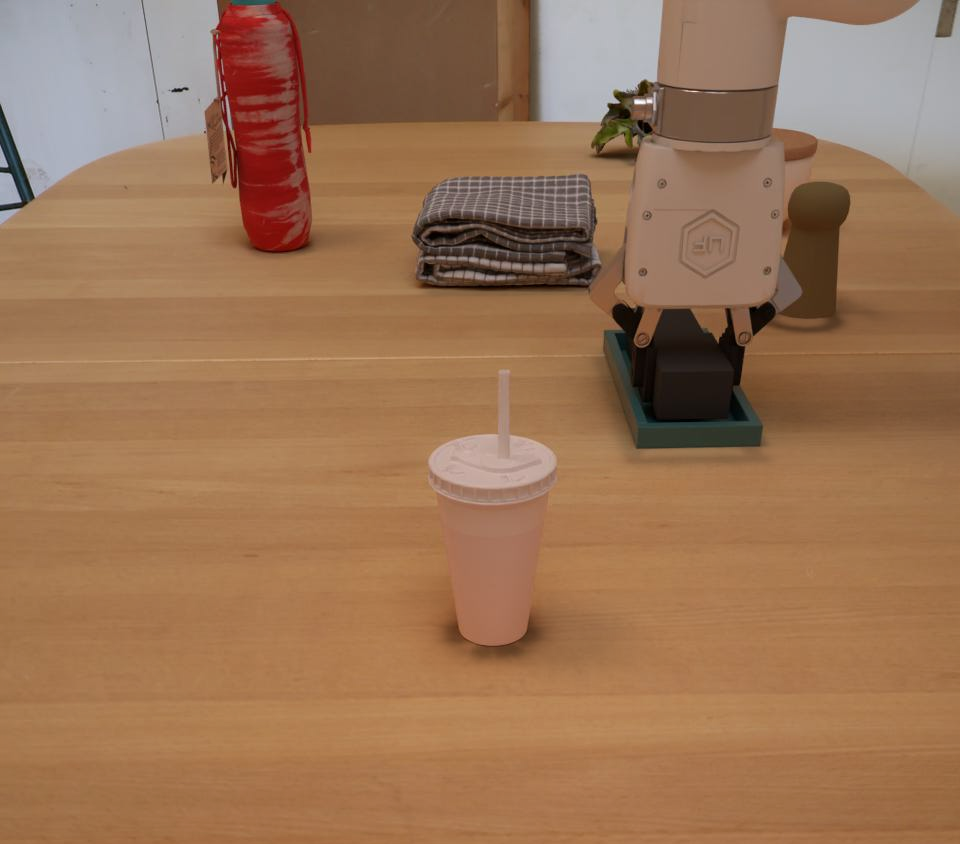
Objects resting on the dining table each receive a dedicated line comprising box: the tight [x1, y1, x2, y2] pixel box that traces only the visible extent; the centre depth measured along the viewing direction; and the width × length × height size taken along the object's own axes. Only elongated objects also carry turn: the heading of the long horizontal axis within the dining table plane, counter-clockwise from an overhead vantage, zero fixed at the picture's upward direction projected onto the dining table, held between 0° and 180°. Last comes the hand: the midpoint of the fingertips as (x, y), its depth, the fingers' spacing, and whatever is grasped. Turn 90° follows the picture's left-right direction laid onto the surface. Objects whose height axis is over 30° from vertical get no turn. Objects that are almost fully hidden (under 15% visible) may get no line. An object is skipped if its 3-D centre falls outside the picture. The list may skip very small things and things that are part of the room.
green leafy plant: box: [590, 78, 654, 163], centre depth 158 cm, size 11×11×12 cm
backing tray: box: [602, 327, 764, 450], centre depth 86 cm, size 21×9×2 cm, turn 1°
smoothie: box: [427, 369, 558, 647], centre depth 56 cm, size 6×6×14 cm
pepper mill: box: [776, 181, 851, 320], centre depth 99 cm, size 6×6×11 cm
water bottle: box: [203, 0, 313, 253], centre depth 116 cm, size 12×8×25 cm, turn 81°
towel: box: [410, 173, 603, 287], centre depth 113 cm, size 15×18×8 cm
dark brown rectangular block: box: [626, 307, 704, 363], centre depth 89 cm, size 8×5×4 cm, turn 2°
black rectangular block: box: [650, 332, 734, 420], centre depth 81 cm, size 8×5×4 cm, turn 1°
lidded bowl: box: [772, 127, 819, 223], centre depth 125 cm, size 13×13×11 cm
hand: (683, 392), depth 82 cm, fingers closed on black rectangular block, 5 cm apart
